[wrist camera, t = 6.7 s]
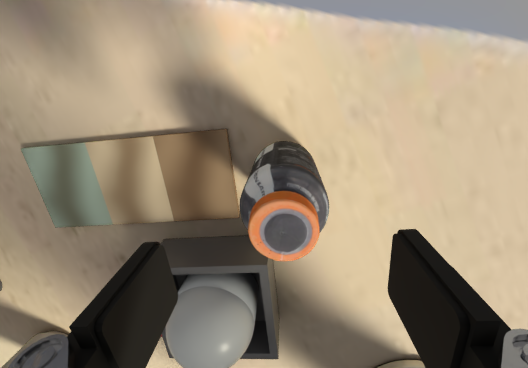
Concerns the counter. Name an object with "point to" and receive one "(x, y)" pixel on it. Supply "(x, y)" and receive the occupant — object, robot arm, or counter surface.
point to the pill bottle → (284, 202)
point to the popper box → (231, 261)
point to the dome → (213, 319)
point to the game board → (137, 179)
